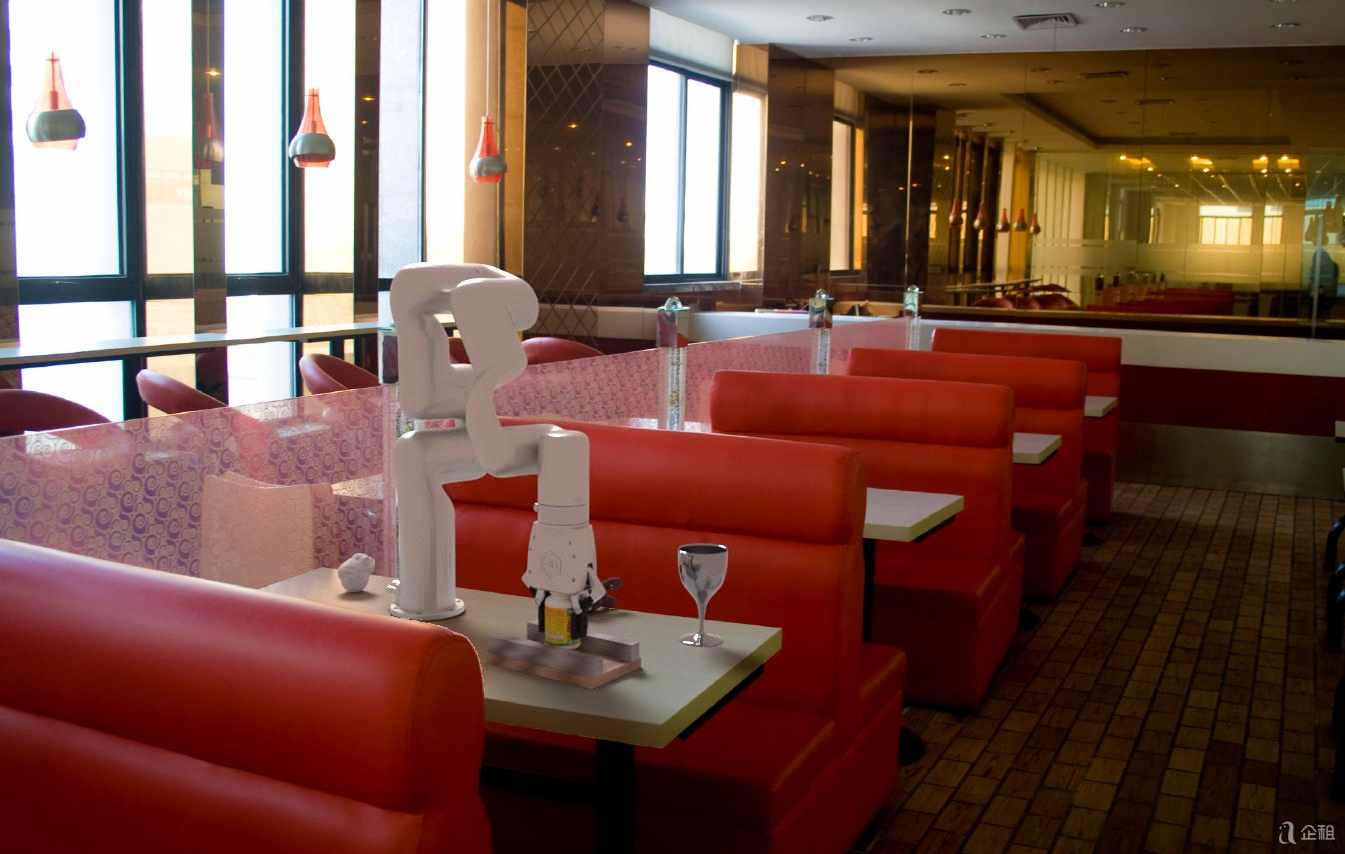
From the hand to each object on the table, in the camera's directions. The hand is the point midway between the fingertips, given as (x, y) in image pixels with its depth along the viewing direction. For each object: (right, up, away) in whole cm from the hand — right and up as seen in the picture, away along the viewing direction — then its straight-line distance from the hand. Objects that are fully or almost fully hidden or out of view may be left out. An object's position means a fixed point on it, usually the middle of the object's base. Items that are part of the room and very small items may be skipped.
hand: (562, 632), depth 179 cm
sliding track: (0, -5, 0) cm, 5 cm away
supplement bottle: (0, -2, 0) cm, 2 cm away
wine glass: (+21, -4, +14) cm, 26 cm away
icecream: (+1, -2, +29) cm, 29 cm away
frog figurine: (-42, 0, +41) cm, 58 cm away
